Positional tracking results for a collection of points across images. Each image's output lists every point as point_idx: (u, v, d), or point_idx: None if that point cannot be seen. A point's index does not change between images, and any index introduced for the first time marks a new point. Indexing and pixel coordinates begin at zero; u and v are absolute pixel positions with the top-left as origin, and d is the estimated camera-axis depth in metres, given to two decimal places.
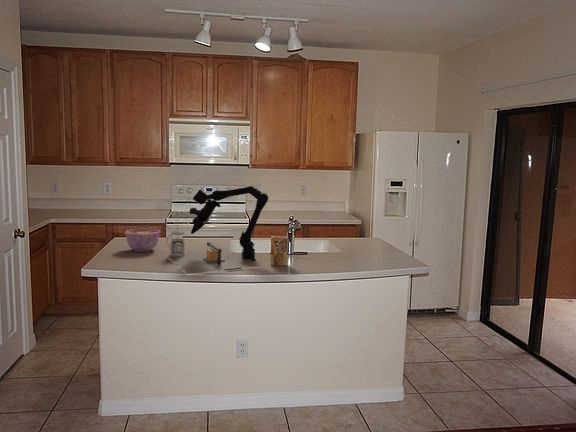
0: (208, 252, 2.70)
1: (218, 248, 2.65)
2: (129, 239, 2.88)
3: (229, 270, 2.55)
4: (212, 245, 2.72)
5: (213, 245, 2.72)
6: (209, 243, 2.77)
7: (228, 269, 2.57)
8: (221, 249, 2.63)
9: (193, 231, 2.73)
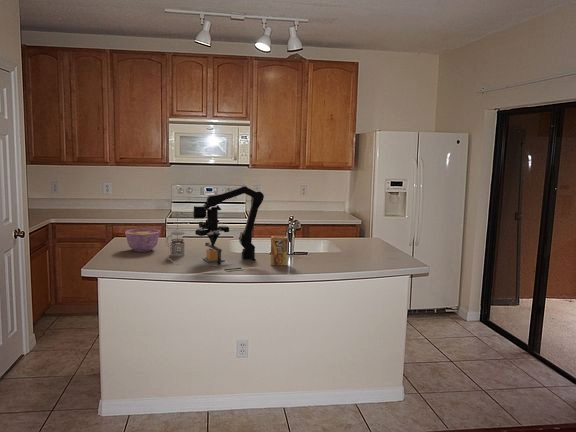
0: (208, 252, 2.70)
1: (218, 248, 2.65)
2: (129, 239, 2.88)
3: (229, 270, 2.55)
4: (211, 245, 2.72)
5: (212, 245, 2.72)
6: (208, 243, 2.76)
7: (228, 269, 2.57)
8: (221, 249, 2.63)
9: (211, 242, 2.73)
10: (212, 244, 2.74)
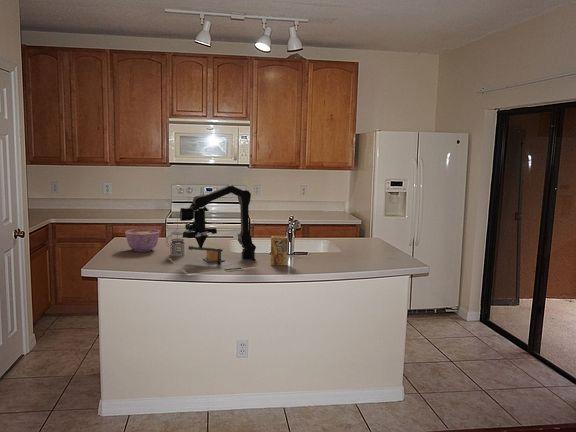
0: (208, 252, 2.70)
1: None
2: (129, 239, 2.88)
3: (229, 270, 2.55)
4: (201, 247, 2.66)
5: (202, 247, 2.66)
6: (192, 246, 2.67)
7: (228, 269, 2.57)
8: (222, 249, 2.64)
9: (199, 245, 2.67)
10: (200, 246, 2.67)
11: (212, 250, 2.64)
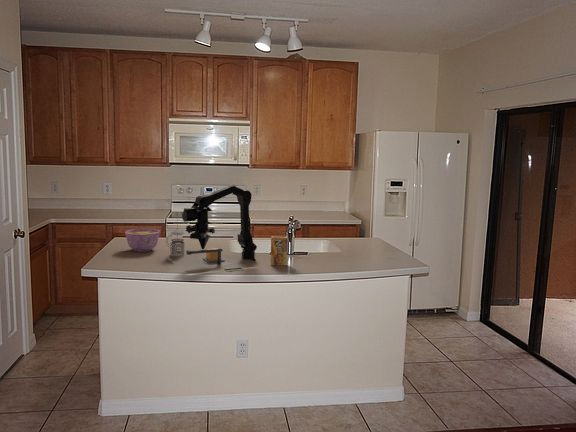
0: None
1: (216, 249, 2.63)
2: (129, 239, 2.88)
3: (229, 270, 2.55)
4: (201, 250, 2.59)
5: (201, 250, 2.59)
6: (191, 251, 2.56)
7: (228, 269, 2.57)
8: None
9: (202, 246, 2.61)
10: (203, 247, 2.62)
11: (213, 251, 2.61)
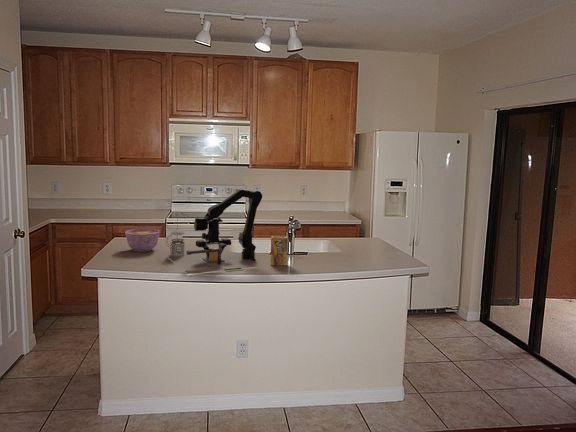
0: None
1: (216, 249, 2.63)
2: (129, 239, 2.88)
3: (229, 270, 2.55)
4: (201, 250, 2.59)
5: (201, 250, 2.59)
6: (191, 251, 2.56)
7: (228, 269, 2.57)
8: None
9: (206, 255, 2.70)
10: (207, 257, 2.70)
11: (213, 251, 2.61)
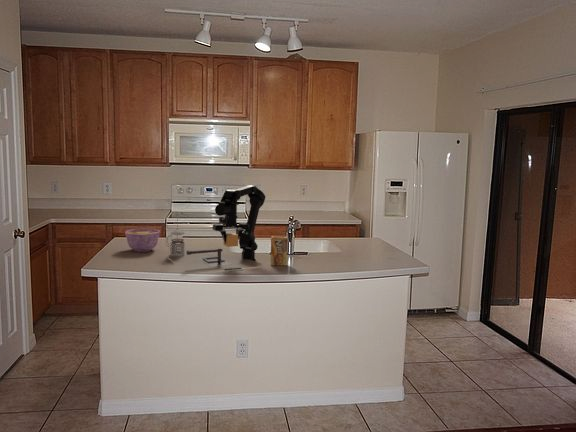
0: None
1: (216, 249, 2.63)
2: (129, 239, 2.88)
3: (229, 270, 2.55)
4: (201, 250, 2.59)
5: (201, 250, 2.59)
6: (191, 251, 2.56)
7: (228, 269, 2.57)
8: None
9: (223, 239, 2.61)
10: (224, 241, 2.62)
11: (213, 251, 2.61)
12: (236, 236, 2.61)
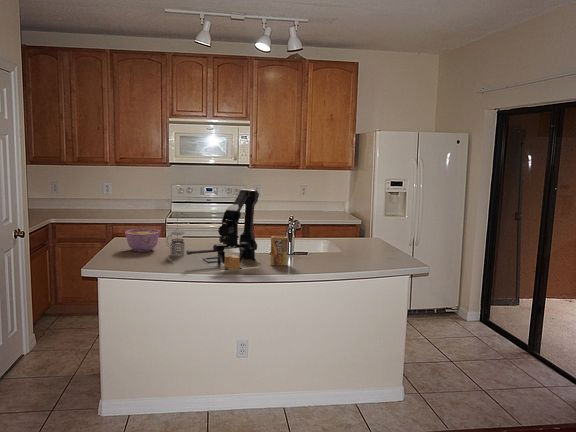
0: (226, 259, 2.57)
1: None
2: (129, 239, 2.88)
3: (229, 270, 2.55)
4: (201, 250, 2.59)
5: (201, 250, 2.59)
6: (191, 251, 2.56)
7: None
8: None
9: (222, 260, 2.56)
10: None
11: (213, 251, 2.61)
12: (237, 259, 2.57)
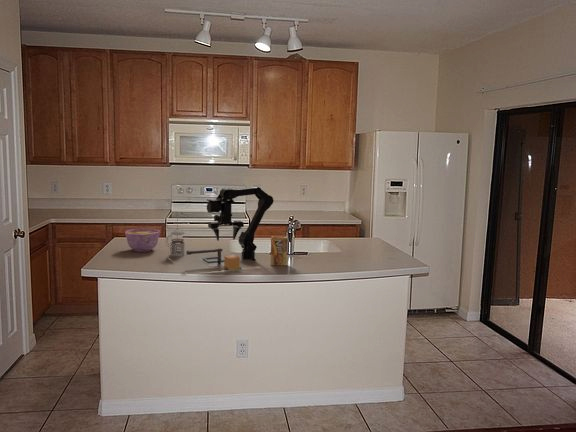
0: (226, 259, 2.57)
1: (216, 249, 2.63)
2: (129, 239, 2.88)
3: (229, 270, 2.55)
4: (201, 250, 2.59)
5: (201, 250, 2.59)
6: (191, 251, 2.56)
7: None
8: None
9: (216, 237, 2.68)
10: (217, 239, 2.68)
11: (213, 251, 2.61)
12: (237, 259, 2.57)
